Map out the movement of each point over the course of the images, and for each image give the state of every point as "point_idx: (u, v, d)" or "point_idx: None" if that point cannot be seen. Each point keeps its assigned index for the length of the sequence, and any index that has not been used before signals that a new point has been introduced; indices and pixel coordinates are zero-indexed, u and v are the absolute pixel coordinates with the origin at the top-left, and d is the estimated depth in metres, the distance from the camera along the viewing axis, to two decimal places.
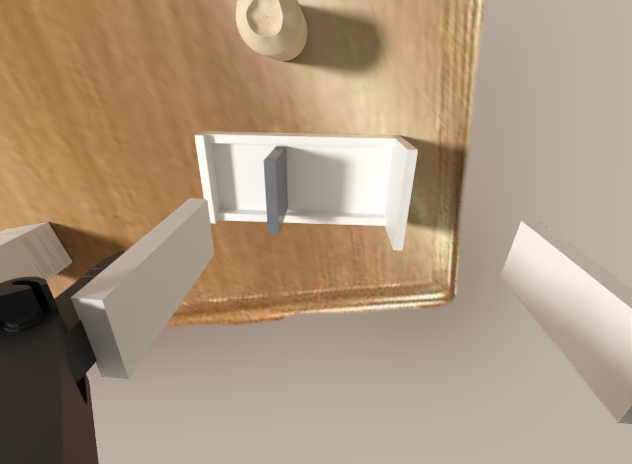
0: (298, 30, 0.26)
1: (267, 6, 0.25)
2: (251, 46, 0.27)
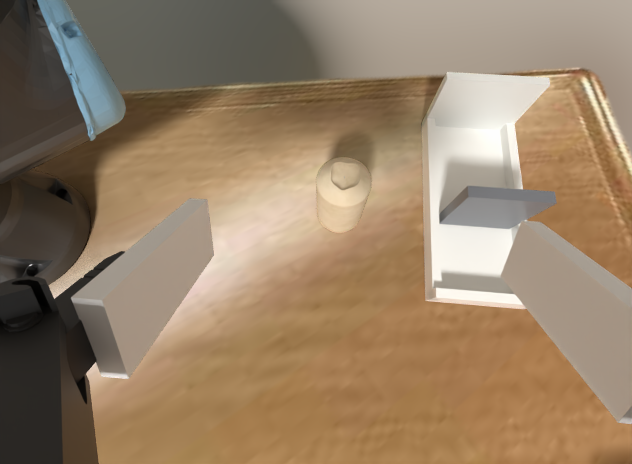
0: (353, 159, 0.32)
1: (337, 176, 0.30)
2: (364, 196, 0.30)
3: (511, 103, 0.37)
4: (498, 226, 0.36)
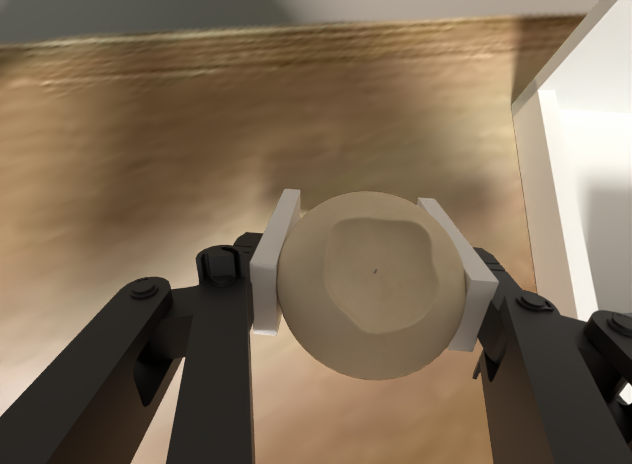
0: (399, 198, 0.10)
1: (349, 267, 0.08)
2: (448, 338, 0.08)
3: None
4: None
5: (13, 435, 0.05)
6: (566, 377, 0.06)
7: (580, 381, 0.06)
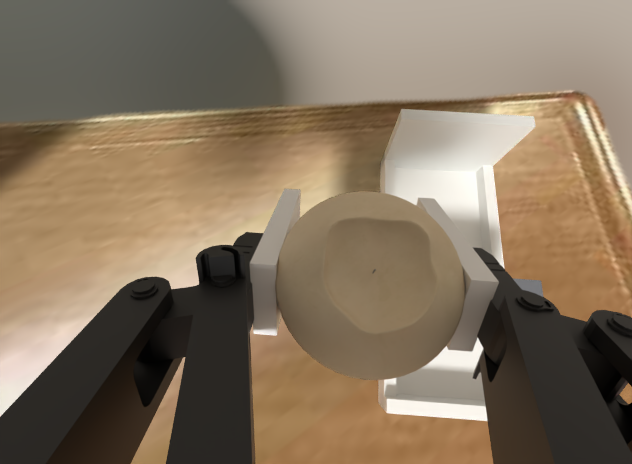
0: (398, 198, 0.10)
1: (347, 268, 0.08)
2: (446, 338, 0.08)
3: (487, 145, 0.29)
4: None
5: (13, 435, 0.05)
6: (566, 377, 0.06)
7: (580, 381, 0.06)
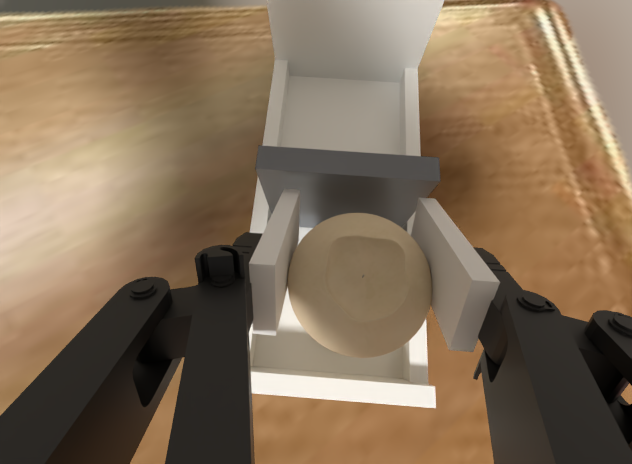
0: (385, 219, 0.13)
1: (343, 273, 0.11)
2: (415, 328, 0.11)
3: (398, 24, 0.21)
4: None
5: (12, 435, 0.05)
6: (567, 377, 0.06)
7: (581, 381, 0.06)
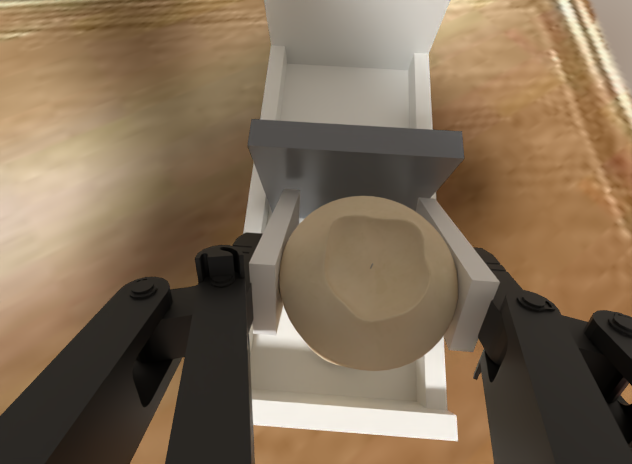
0: (395, 203, 0.11)
1: (347, 262, 0.09)
2: (440, 332, 0.09)
3: (409, 1, 0.18)
4: None
5: (12, 435, 0.05)
6: (567, 377, 0.06)
7: (581, 381, 0.06)
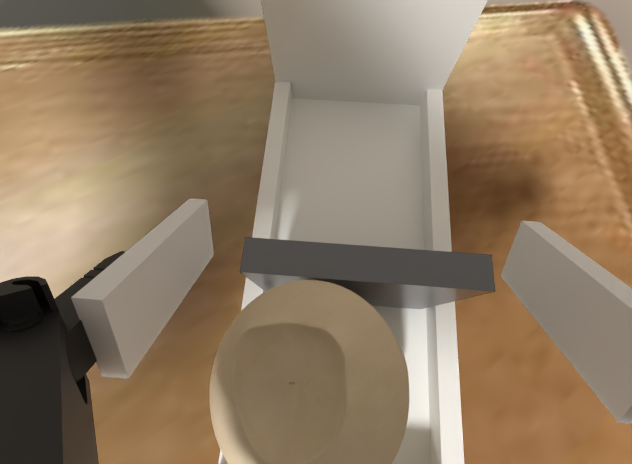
0: (341, 288, 0.09)
1: (268, 375, 0.08)
2: None
3: (422, 40, 0.17)
4: (394, 306, 0.17)
5: None
6: None
7: None
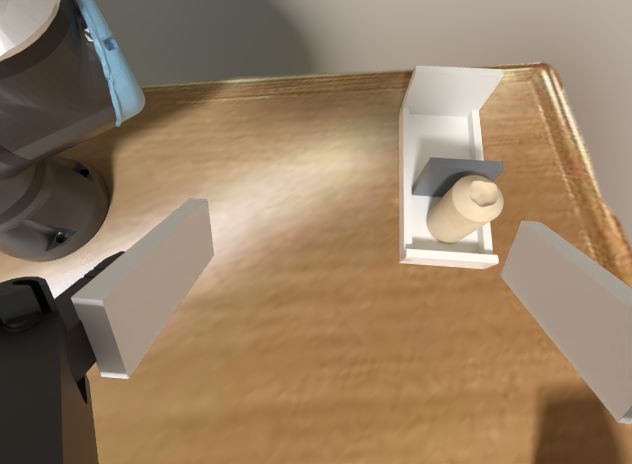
0: (485, 178, 0.34)
1: (474, 193, 0.33)
2: (497, 213, 0.33)
3: (473, 92, 0.42)
4: None
5: None
6: None
7: None
